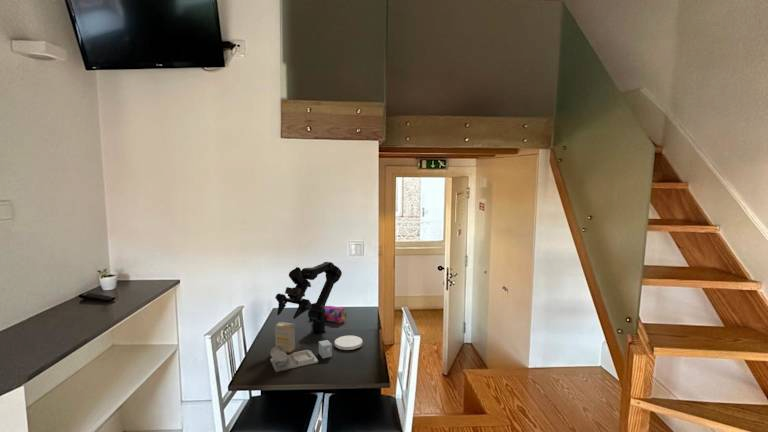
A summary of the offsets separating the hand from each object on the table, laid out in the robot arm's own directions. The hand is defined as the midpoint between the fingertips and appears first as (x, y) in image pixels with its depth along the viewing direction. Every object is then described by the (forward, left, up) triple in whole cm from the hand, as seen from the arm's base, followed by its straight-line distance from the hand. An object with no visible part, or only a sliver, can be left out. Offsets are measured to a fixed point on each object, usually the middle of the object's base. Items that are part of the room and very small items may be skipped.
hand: (285, 316), depth 184 cm
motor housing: (0, +13, -17) cm, 21 cm away
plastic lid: (-29, +8, -18) cm, 35 cm away
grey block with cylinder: (-15, +13, -17) cm, 26 cm away
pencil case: (-33, -31, -18) cm, 49 cm away
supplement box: (0, -1, -18) cm, 18 cm away
